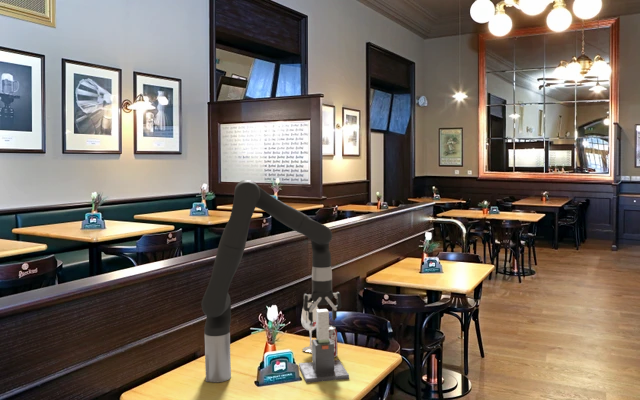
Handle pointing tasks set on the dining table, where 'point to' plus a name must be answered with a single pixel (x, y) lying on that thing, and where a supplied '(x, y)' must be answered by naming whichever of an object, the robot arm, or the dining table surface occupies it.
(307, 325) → the wineglass
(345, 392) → the dining table surface
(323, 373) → the stand base
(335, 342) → the soda can
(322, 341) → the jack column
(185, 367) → the dining table surface
